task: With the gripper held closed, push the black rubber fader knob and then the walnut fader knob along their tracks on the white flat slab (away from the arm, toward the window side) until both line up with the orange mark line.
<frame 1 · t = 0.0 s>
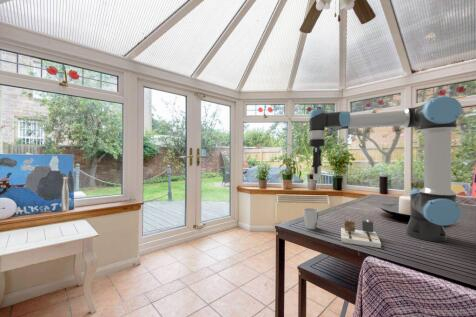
hand: (317, 178, 114), 28 cm above the table, fingers open, 13 cm apart
fader a: (367, 225, 106), point 6 cm above the table, slide at -5.0 cm
white flat slab: (359, 239, 103), on the table
fader b: (349, 225, 106), point 5 cm above the table, slide at -2.0 cm
cup: (310, 228, 119), on the table
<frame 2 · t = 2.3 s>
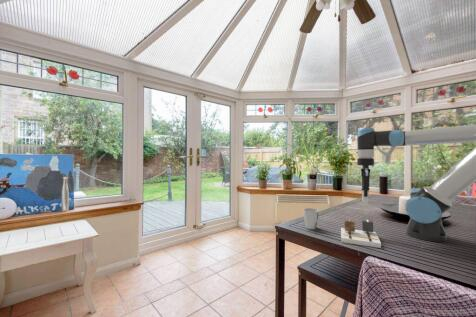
hand: (365, 202, 112), 15 cm above the table, fingers closed
nothing on the table moved.
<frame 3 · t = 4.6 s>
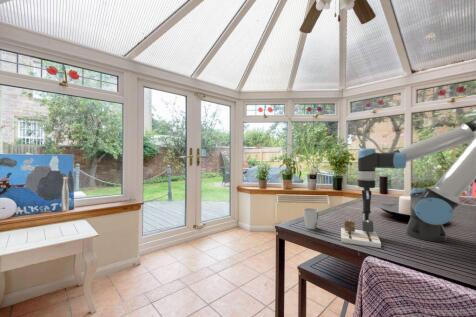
hand: (366, 225, 108), 4 cm above the table, fingers closed
fader a: (367, 225, 105), point 6 cm above the table, slide at -4.6 cm, touching gripper
everything else where it was.
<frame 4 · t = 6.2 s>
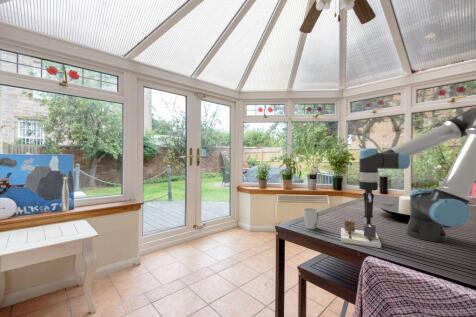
hand: (368, 230, 102), 4 cm above the table, fingers closed
fader a: (369, 230, 98), point 6 cm above the table, slide at 2.9 cm, touching gripper
everything else where it was.
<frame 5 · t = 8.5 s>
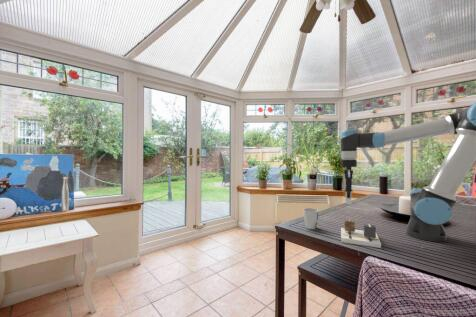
hand: (348, 203, 113), 15 cm above the table, fingers closed
fader a: (369, 230, 98), point 5 cm above the table, slide at 3.0 cm
everything else where it was.
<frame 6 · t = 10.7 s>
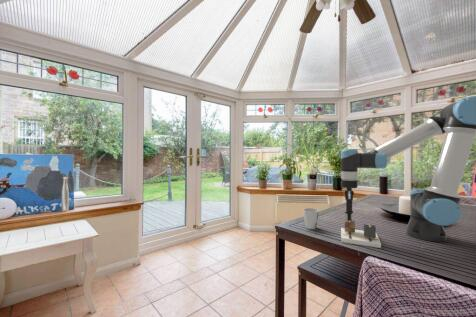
hand: (349, 225, 108), 4 cm above the table, fingers closed
fader b: (349, 225, 105), point 5 cm above the table, slide at -1.0 cm, touching gripper
everything else where it was.
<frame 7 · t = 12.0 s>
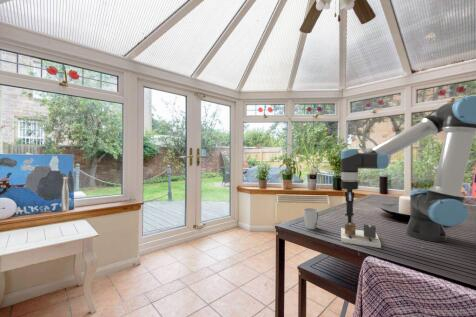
hand: (349, 228, 105), 4 cm above the table, fingers closed
fader b: (350, 228, 102), point 5 cm above the table, slide at 3.0 cm, touching gripper
everything else where it was.
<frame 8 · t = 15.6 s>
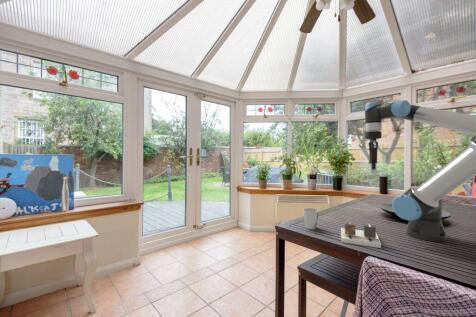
hand: (373, 175, 115), 29 cm above the table, fingers closed
fader b: (350, 228, 102), point 6 cm above the table, slide at 3.0 cm
everything else where it was.
at the end: fader a slide at 3.0 cm; fader b slide at 3.0 cm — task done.
